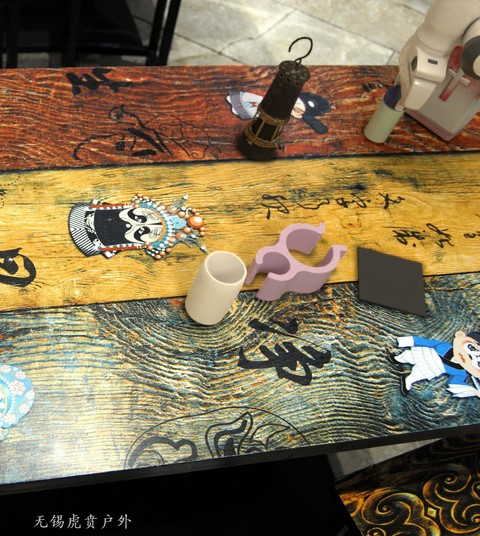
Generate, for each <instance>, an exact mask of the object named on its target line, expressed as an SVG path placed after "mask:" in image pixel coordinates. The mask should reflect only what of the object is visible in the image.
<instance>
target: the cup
mask: <svg viewBox="0 0 480 536" xmlns="http://www.w3.org/2000/svg"><path fill="white" fill-rule="evenodd" d="M247 270H248V269H247V267H246V264H245V262H244V261H243V260H242V258H240V257H239V256H238V255H237V254H235V253H232V252H230V251H227V250H226V251H225V250H214V251H211V252H210V253H208V255H206V257H205V258H204V260H203V261H202V263H201V265H200V266H199V268H198V270H197V272H196V273H195V275H194V278H193V280H192V282H191V285H190V287H189V290H188V293H187V295H186V298H185V302H184V307H185V308H184V309H185V311H186V313H187V314H188V315H189V317H190V318H191V319H192V320H193V321H195V322H197V323H199V324H202V325H205V326H206V325H207V326H212V325H213V326H214V325H216V324H218V323H220V322H221V321H222V320H223V319H224V317H225V316H226V315H227V313H228V311H229V310H230V309H231V307H232V306H233V304H234V303H235V300H236V299H237V297H238V295H239V293H240V292H241V290H242V288H243V286H244V284H245V283H244V281H245V278H246V275H247Z"/></svg>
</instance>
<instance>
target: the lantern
mask: <svg viewBox="0 0 480 536" xmlns="http://www.w3.org/2000/svg"><path fill="white" fill-rule="evenodd" d="M301 40H308V41H309V42H310V45H309V50H308V51H307V52H306V54H304V55H303V56H300V57H297V58H295V59H294V60H291V59H290V60H288V59H287V60H286V59H285V60H282V61H281V62H280V63H279V64H278V71H277V72H276V74H275V77H273V78H274V79H273V80H272V81H271V84H270V85H269V87H268V89H267V90H266V92H265V95H264V96H263V97H262V99H261V100H260V102H259V103H258V105H257V107H256V112H255V113H254V115H253V116H252V119H251V121H250V122H248V123H247V124H246V126H245V128H244V130H243V131H242V133H241V134H240V135H239V136H238V138H237V147H238V150H239V151H240V152H241V153H242V154H243V155H244V156H246V157H247V158H249V159H251V160H252V161H253V160H254V161H257V162H266V161H270V160H272V159H273V158H274V157H275V155H276V153H277V149H278V150H279V151H282V150H283V147H282V146H281V141H282V134H283V132H284V131H285V127H286V125H287V124H288V123H289V122H290V119H291V117H292V114H293V110H294V108H295V106H296V104H297V101H298V99H299V97H300V95H301V92H302V91H303V88H304V86H305V84H306V83H307V82H309V81H310V80H311V77H312V75H311V72H310V69H309V68H308V67H307V66H305V65H304V64H302V62H303V59H306V58H308V56H310V54H311V53H312V51H313V49H314V48H313V47H314V41H313V38H311V37H310V36H300V37H297V38H296V39H295V40H293V41H292V42H291V43H290V45H289V46H288V50H287V51H288V52H287V53H291V52H292V51H291V50H292V47H293V46H294V45H295V44H297V42H299V41H301ZM256 117H257V118H256ZM281 126H282V128H281ZM280 129H281V130H280Z"/></svg>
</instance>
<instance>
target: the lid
mask: <svg viewBox="0 0 480 536" xmlns="http://www.w3.org/2000/svg"><path fill="white" fill-rule="evenodd" d="M382 99H383V100H384V102H385V104H386V105H388V106H389V107H390V108H392V109H395V103H396V102H397V100H400V99H401V87H398V86H393V85H392V86H390V87H388V89H387V90H386V91H385V92H384V95H383V98H382ZM406 109H407V108H404V109H403V110H406ZM403 110H402V111H403Z"/></svg>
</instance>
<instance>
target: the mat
mask: <svg viewBox="0 0 480 536" xmlns="http://www.w3.org/2000/svg"><path fill="white" fill-rule="evenodd" d="M357 289H358V290H357V291H358V300H359V301H364V302H367V303H371V304H375V305H378V306H382V307H386V308H390V309H393V310H397V311H401V312H405V313H409V314H412V315H415V316H420V317H423V318H426V317H427V306H426V295H425V294H426V293H425V285H424V273H423V263H421V262H417V261H414V260H410V259H406V258H402V257H399V256H396V255H391V254H387V253H385V252H380V251H377V250H373V249H369V248H366V247H362V246H357Z"/></svg>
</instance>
